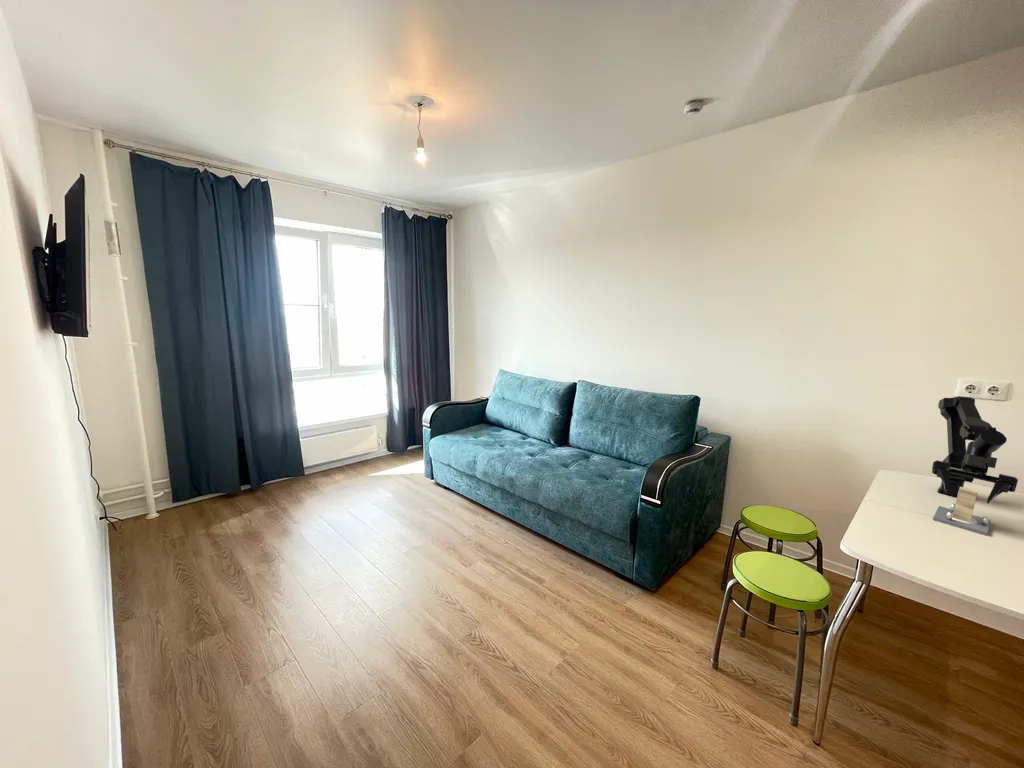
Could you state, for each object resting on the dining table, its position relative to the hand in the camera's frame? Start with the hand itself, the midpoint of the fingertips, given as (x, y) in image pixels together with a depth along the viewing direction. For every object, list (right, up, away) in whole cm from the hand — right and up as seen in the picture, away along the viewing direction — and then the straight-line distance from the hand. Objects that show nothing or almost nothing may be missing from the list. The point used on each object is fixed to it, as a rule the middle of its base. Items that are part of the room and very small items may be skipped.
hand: (966, 497), depth 134 cm
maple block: (+1, -8, +3) cm, 8 cm away
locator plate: (+1, -9, +3) cm, 9 cm away
